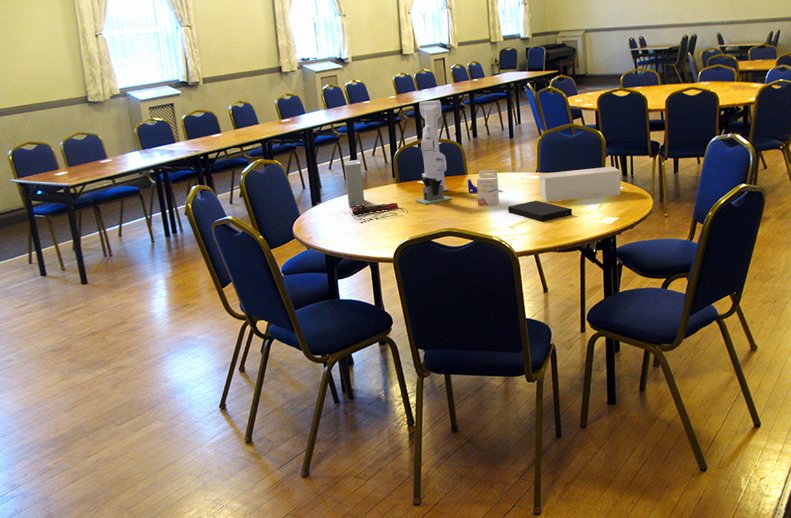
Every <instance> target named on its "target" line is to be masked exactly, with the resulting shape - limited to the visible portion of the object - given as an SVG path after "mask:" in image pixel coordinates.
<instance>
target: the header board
mask: <svg viewBox="0 0 791 518" xmlns="http://www.w3.org/2000/svg"><path fill="white" fill-rule="evenodd" d="M450 199H452V197H450V196H448V195H447V196H446V195H444V198H441V199H436V200H431V201H428V199H427V200H424V197H423V198H419V199H414V202H415V201H416V202H415V203H418V202H419V203H418V204H421V203H422V205H424V204H425V206H427V205H432V204H436V202H437V203H441V201H442V202H446V201H445V200H447V201H451V200H450ZM431 203H432V204H431ZM426 204H427V205H426Z"/></svg>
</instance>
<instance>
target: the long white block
mask: <svg viewBox="0 0 791 518" xmlns="http://www.w3.org/2000/svg"><path fill="white" fill-rule="evenodd" d="M539 185H540V186H539V187H540V188H539V189H540V191H539V192H540V198H541V197H542V198H543V199H544V200H545V201H546V202H545V201H544V200H543V199H542V198H541V199H542V200H543V201H544V202H545V203H548V202H547V201H555V202H559V201H558V200H565V201H569V200H568V199H575V200H582V199H581V198H585V199H592V198H603V197H611V196H612V197H613V196H620V195H621V194H622V193H621V192H622V191H621V170H620V169H618V168H616V167H614V166H606V167H596V168H586V169H577V170H576V169H575V170H567V171H557V172H556V171H555V172H547V173H539Z"/></svg>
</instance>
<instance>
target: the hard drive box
mask: <svg viewBox="0 0 791 518" xmlns="http://www.w3.org/2000/svg"><path fill="white" fill-rule="evenodd" d="M343 163H344V174H345V181H346V182H345V183H346V193H347V201H348V207H349V206H352V207H355V206H354V205H363V204H366V203H365V196H364V195H365V194H364V185H363V176H362V168H361V167H362V166H361V161H360V159H355V160H352V159H351V160H347V161H343Z"/></svg>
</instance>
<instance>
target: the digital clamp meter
mask: <svg viewBox="0 0 791 518" xmlns="http://www.w3.org/2000/svg"><path fill="white" fill-rule="evenodd" d="M397 207H398V208H397ZM392 209H394V210H401V211H404V212H405V211H406V212H407V213H408V214H409V211H408V210H407V209H406V208H403V207H399V204H398V203H397V202H393V203H386V204H385V203H382V204H375V205H370V206H365V205H362V206H355V207H354V208H353V209H350V210H349V211H348V212H349V214H350V215H351V216H352V217H353V219H355V220H357V221H358V220H359V221H360V223H361V224H364V223H363V222H365V223H367V222H366V221H368V222H370V220H372V221H374V220H373V219H371V218H372V217H371V218H368V219H370V220H365V219H366V218H365V217H367V216H368V215H369V213H370V212H376V211H382V210H387V211H382V212H379V213H377V212H376V213H377V214H375V215H374V217H375V218H376V220H380V219H379V217H378V216H379V215H380V214H384V213H385V214H384V215H383V217H382V216H381V219H385V218H388V217H393V216H395V215H397V213H394V212H388V211H393V210H392ZM386 212H388V213H386ZM364 213H368V214H365V215H364V217H360V215H359V214H364ZM407 213H406V214H407ZM353 214H354V215H359V216H357V217H358V218H356V216H354V215H353ZM370 214H371V213H370ZM390 214H391V215H390ZM376 216H377V217H378V218H377V217H376ZM361 220H364V221H361Z"/></svg>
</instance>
